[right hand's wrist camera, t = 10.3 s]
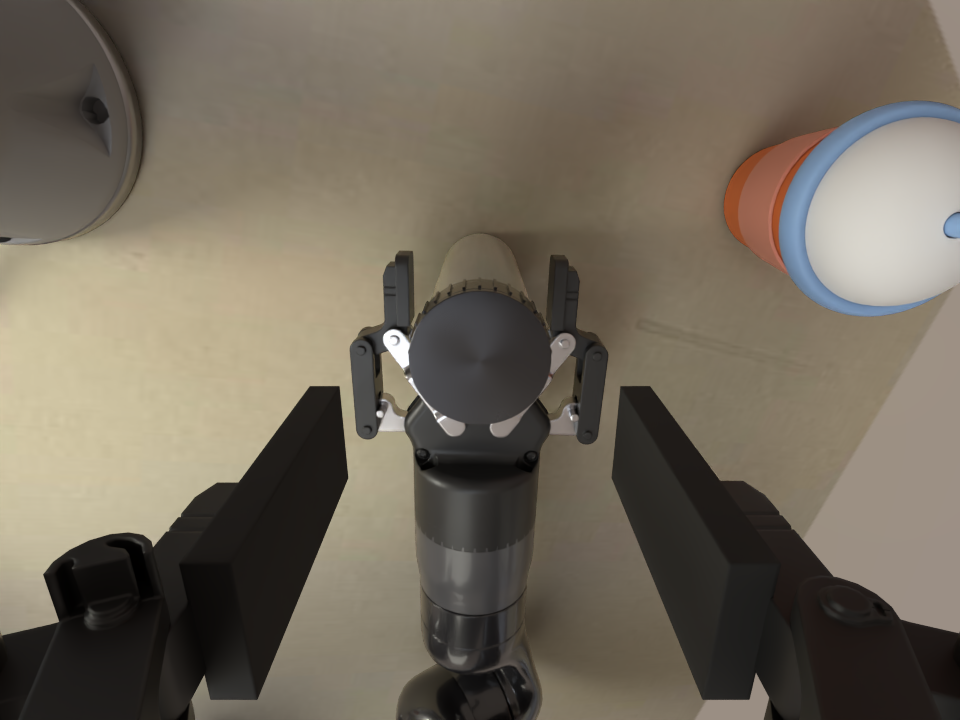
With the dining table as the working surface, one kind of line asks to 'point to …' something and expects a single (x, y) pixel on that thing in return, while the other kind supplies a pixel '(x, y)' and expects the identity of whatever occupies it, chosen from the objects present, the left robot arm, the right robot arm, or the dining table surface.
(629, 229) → the dining table surface
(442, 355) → the lid
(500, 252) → the blue-gray bottle
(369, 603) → the dining table surface
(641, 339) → the dining table surface
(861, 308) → the cup with straw
